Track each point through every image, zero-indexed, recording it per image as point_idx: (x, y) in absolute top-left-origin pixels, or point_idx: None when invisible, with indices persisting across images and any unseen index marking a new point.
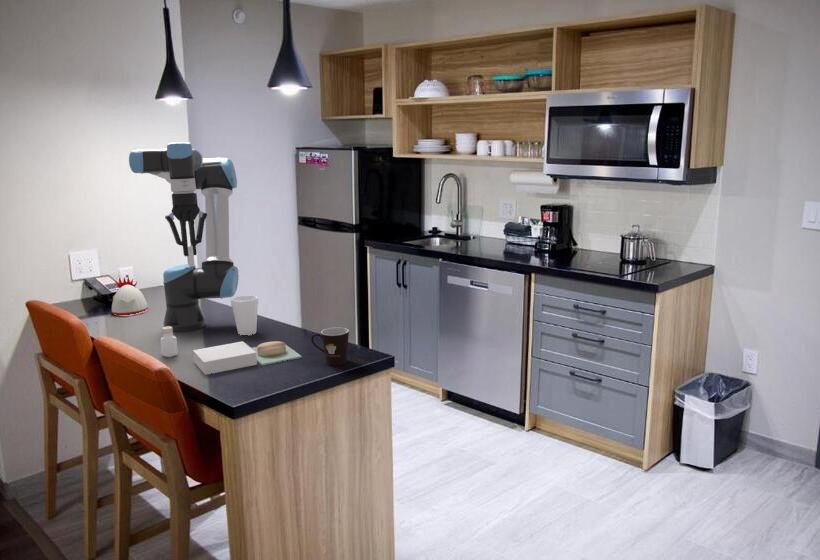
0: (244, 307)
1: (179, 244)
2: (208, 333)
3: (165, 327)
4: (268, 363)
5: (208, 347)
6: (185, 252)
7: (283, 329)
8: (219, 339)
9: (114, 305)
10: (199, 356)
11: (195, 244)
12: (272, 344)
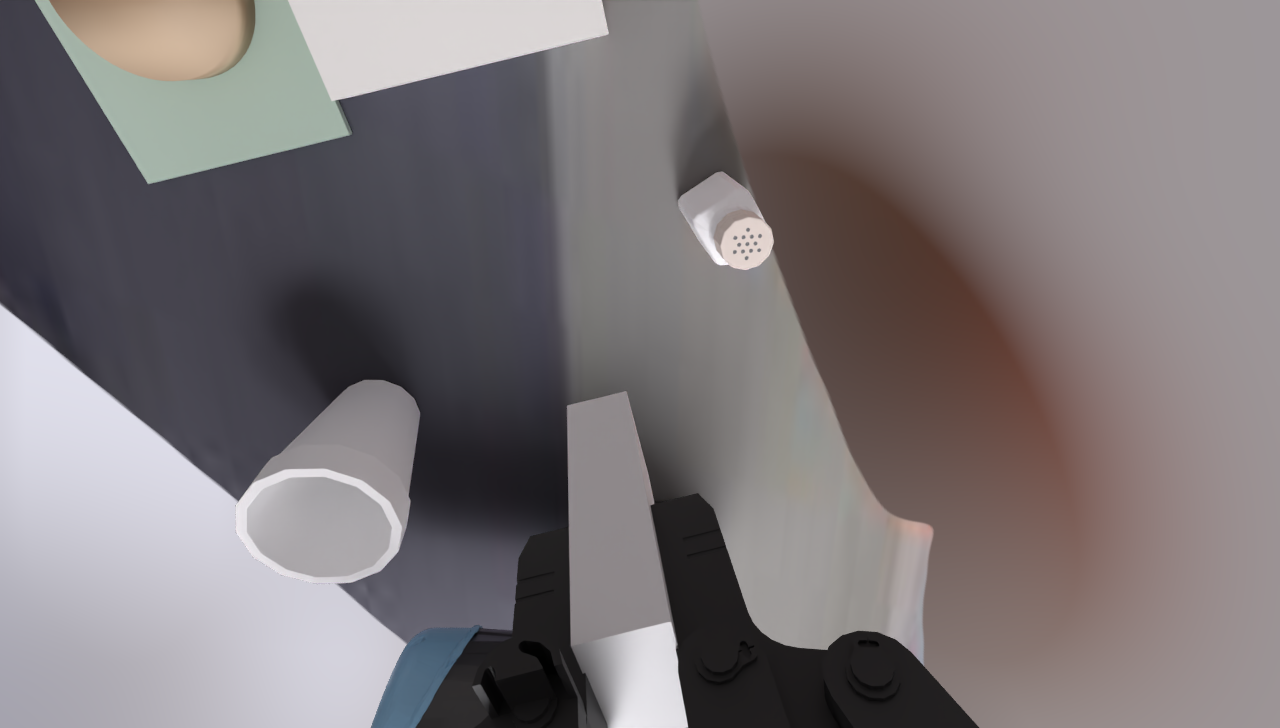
0: (323, 445)
1: (870, 641)
2: (551, 457)
3: (755, 249)
4: None
5: (524, 53)
6: (703, 542)
7: (204, 417)
8: (499, 364)
9: None
10: None
11: (501, 669)
12: (134, 6)
